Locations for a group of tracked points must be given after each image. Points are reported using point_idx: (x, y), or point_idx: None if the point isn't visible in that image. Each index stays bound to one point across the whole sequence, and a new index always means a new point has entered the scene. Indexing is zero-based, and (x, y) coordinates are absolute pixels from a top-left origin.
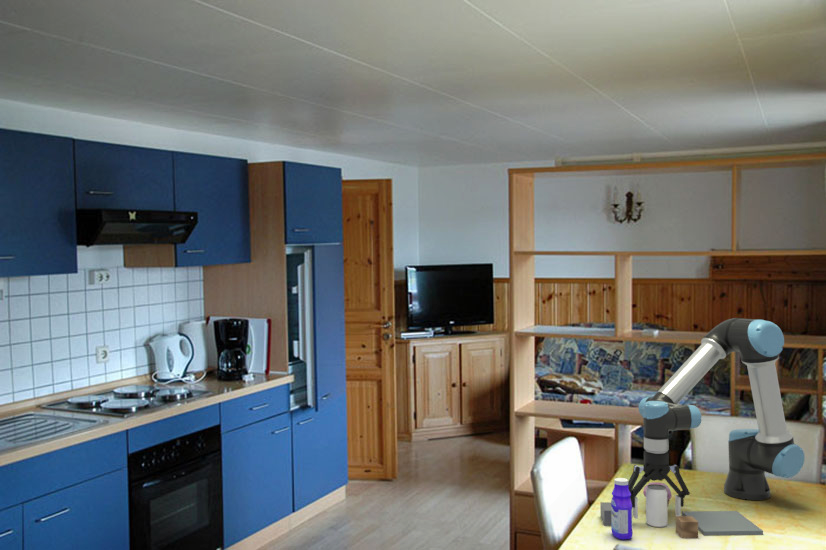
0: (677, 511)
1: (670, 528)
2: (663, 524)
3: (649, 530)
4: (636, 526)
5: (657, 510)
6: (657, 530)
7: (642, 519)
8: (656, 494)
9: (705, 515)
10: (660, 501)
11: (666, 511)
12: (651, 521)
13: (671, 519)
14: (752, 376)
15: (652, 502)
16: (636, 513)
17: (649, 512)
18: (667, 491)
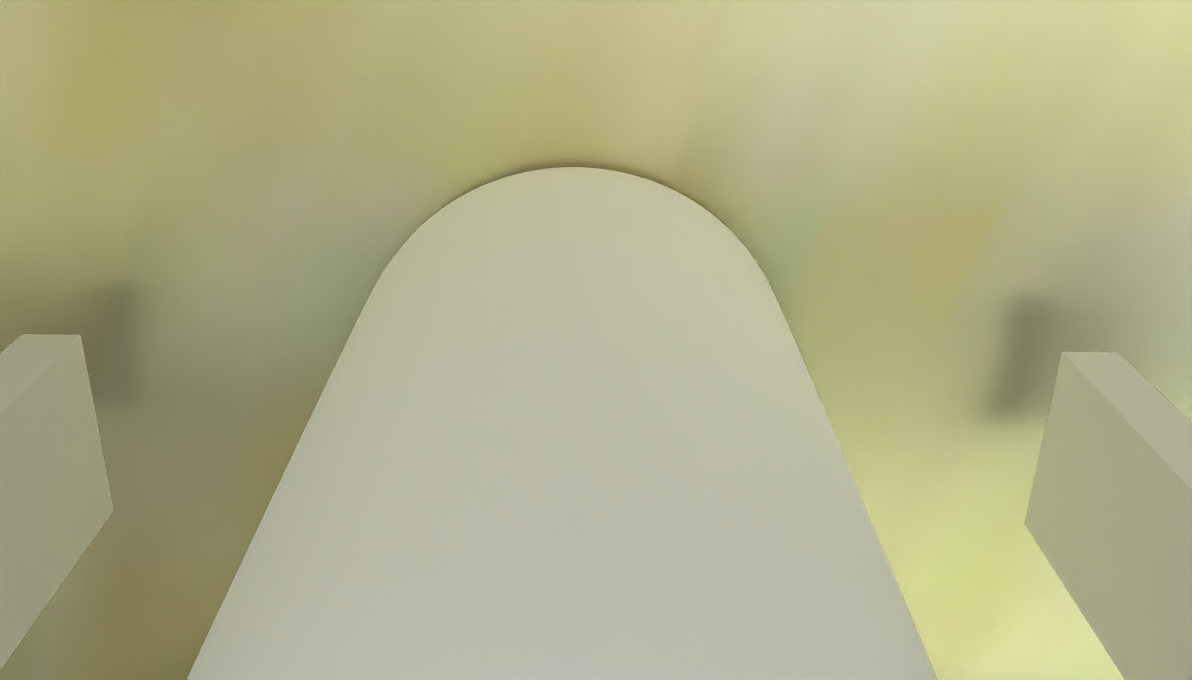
0: (25, 461)
1: (364, 113)
2: (496, 189)
3: (877, 14)
4: (1042, 264)
5: (655, 309)
6: (697, 5)
7: None
8: (743, 675)
9: None
10: (550, 448)
11: (354, 358)
12: (753, 273)
13: (210, 575)
14: None
15: (828, 503)
16: (1150, 414)
17: (820, 401)
18: None
